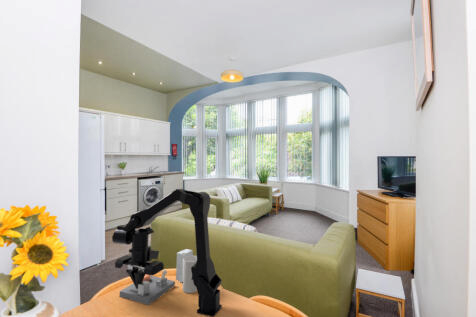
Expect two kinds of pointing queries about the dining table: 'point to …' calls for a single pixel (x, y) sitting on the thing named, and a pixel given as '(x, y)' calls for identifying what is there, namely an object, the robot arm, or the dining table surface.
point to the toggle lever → (163, 276)
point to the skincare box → (181, 263)
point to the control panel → (154, 291)
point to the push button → (146, 278)
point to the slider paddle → (143, 288)
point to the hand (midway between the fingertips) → (138, 288)
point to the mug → (188, 274)
